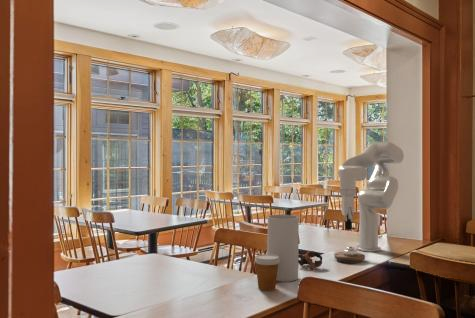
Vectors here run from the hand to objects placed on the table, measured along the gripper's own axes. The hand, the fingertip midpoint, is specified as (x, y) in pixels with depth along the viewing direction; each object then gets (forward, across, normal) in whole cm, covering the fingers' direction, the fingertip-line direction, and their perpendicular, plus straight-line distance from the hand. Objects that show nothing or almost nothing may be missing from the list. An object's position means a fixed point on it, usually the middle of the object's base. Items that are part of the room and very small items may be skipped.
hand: (348, 229), depth 228 cm
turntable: (+13, +10, -1) cm, 16 cm away
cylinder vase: (+11, +44, -33) cm, 56 cm away
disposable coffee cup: (+10, +60, -39) cm, 72 cm away
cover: (+10, +10, -1) cm, 15 cm away
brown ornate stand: (+12, +25, -22) cm, 35 cm away
